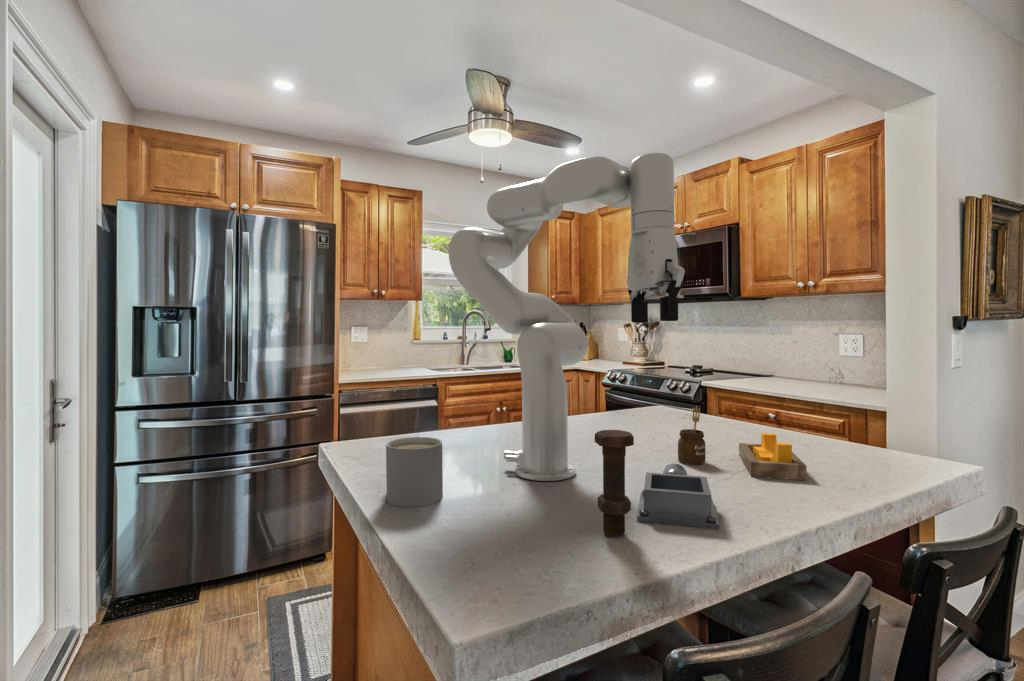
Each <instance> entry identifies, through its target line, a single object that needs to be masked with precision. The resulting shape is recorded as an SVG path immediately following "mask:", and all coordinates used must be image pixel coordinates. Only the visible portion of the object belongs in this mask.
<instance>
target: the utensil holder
mask: <svg viewBox="0 0 1024 681" xmlns="http://www.w3.org/2000/svg"><path fill="white" fill-rule="evenodd" d="M700 412H701V407H695V406H694V407H693V408H692V415H690V414H689V416H688V415H683V418H687V417H688V419H689V420H692V422H693V427H692V426H691V425H689V429H688V428H687V425H685V427H686V428H685V427H684V425H683V429H681V430H679V435H678V436H679V438H678V441H677V460H678V462H680V463H681V464H685V465H690V466H700V465H703V464H705V462H706V455H707V454H706V451H707V450H706V441H705V439H704V438H705V434H704V431H703V430H699V429H697V423H698V422H700V415H701V413H700ZM690 417H691V418H690ZM691 427H692V428H691Z"/></svg>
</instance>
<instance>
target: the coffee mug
mask: <svg viewBox="0 0 1024 681" xmlns="http://www.w3.org/2000/svg"><path fill="white" fill-rule="evenodd" d="M385 451H386V452H385V465H386V466H385V467H386V469H385V470H386V478H385V479H386V502H387V503H388V504H390V505H391V506H395V507H400V508H417V507H418V508H419V507H425V506H430V505H433V504H436V503H438V502H440V501H441V500H443V497H444V496H443V495H444V493H443V492H444V491H443V489H444V488H443V487H444V486H443V480H444V479H443V476H444V475H443V441H442V440H441V439H439V438H436V437H429V436H428V437H427V436H413V437H410V436H409V437H402V438H397V439H393V440H390V441H388V442H387V443H386V445H385Z"/></svg>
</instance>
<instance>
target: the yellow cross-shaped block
mask: <svg viewBox="0 0 1024 681" xmlns="http://www.w3.org/2000/svg"><path fill="white" fill-rule="evenodd" d="M760 434H761V437H760V438H761V439H760V440H761V441H760V442H761V443H760V444H761V447H753V454H754V456H755V457H756V459H757V460H758V461H770V462H786V463H792V452H793V444H791V443H790V442H777V434H776V433H774V432H773V433H772V432H761V433H760Z"/></svg>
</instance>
